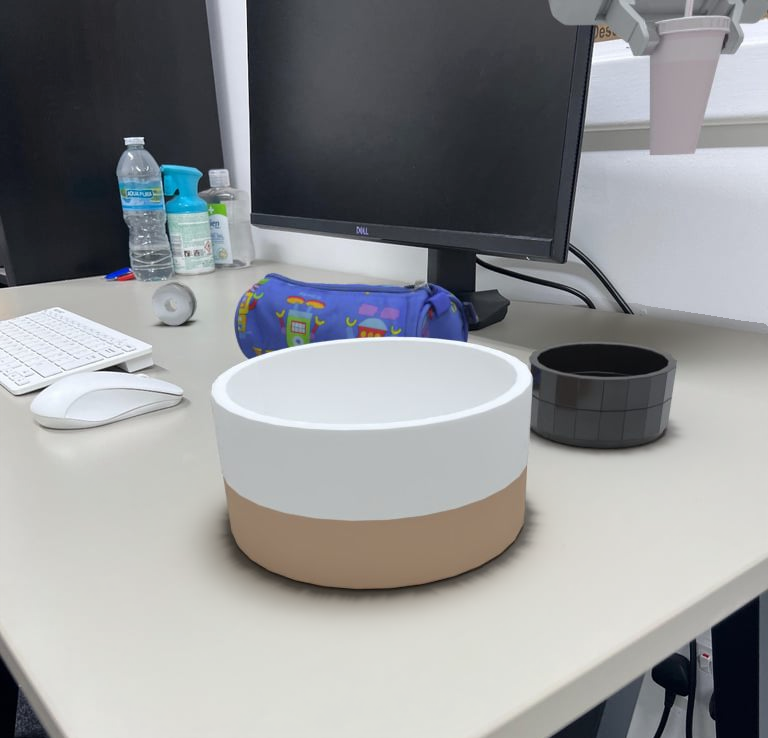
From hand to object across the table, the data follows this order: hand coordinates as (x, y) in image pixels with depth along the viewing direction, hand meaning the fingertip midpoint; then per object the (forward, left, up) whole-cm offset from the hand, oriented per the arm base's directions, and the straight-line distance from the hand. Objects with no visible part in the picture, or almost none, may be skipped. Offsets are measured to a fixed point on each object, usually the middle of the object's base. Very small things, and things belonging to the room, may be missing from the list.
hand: (690, 48), depth 59 cm
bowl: (+33, +24, -26) cm, 49 cm away
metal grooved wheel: (+45, -37, -26) cm, 64 cm away
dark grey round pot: (+14, +15, -25) cm, 33 cm away
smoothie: (0, -1, -8) cm, 8 cm away
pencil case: (+29, -3, -26) cm, 39 cm away
